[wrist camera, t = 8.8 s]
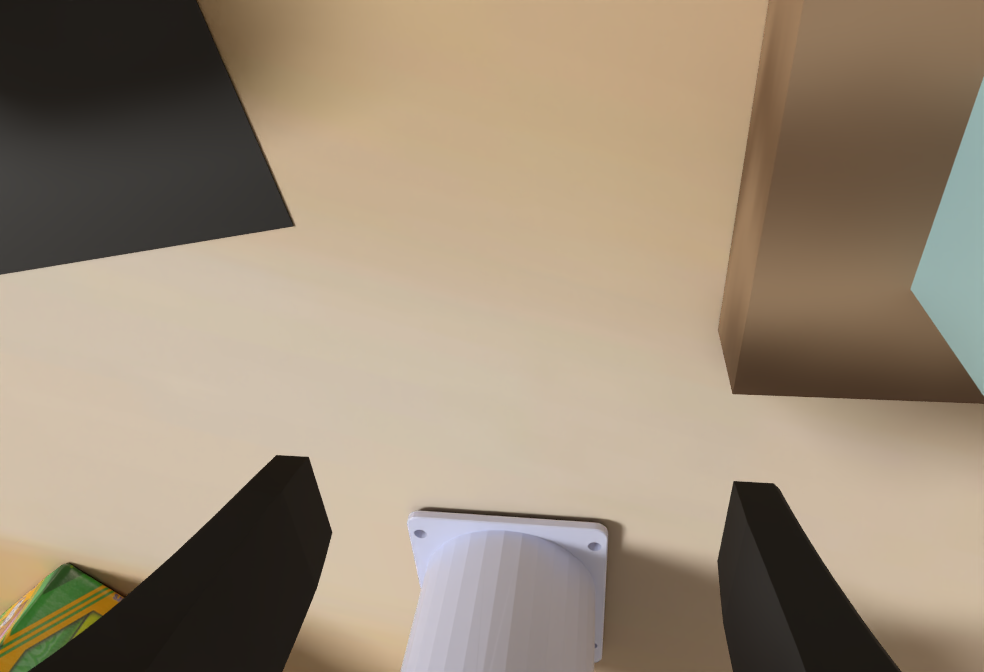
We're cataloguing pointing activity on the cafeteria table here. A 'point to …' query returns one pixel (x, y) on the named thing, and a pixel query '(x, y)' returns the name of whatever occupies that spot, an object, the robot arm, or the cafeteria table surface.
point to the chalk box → (51, 617)
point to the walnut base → (848, 199)
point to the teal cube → (959, 253)
